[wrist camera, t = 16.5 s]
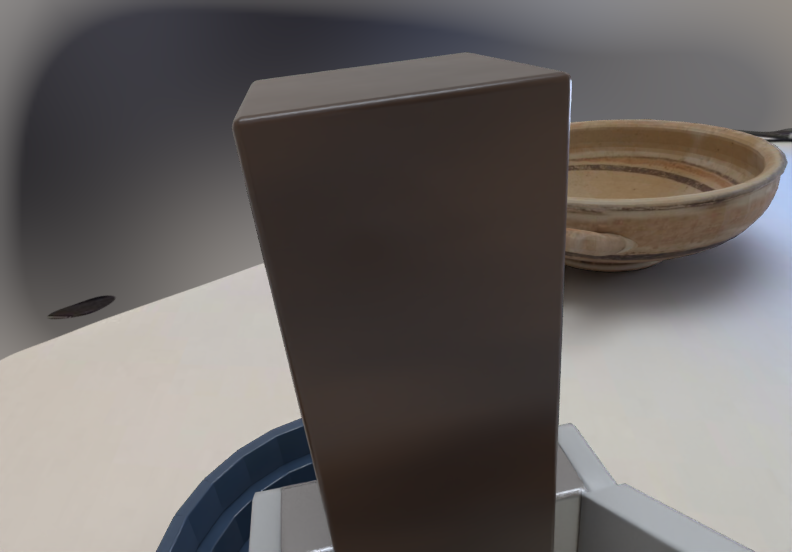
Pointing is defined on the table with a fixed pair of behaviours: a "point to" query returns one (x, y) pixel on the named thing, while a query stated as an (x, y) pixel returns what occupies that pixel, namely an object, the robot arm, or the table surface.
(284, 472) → the bowl
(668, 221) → the ceramic bowl
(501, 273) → the stick
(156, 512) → the table surface
